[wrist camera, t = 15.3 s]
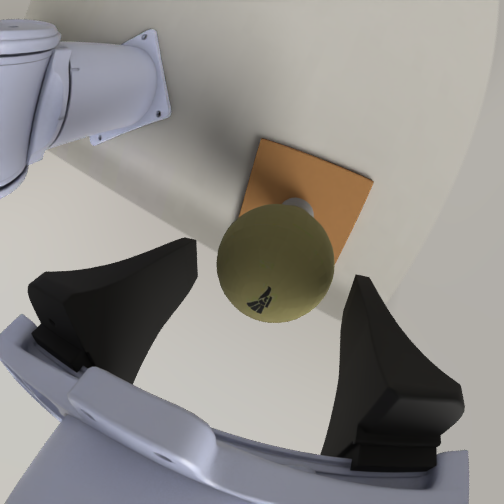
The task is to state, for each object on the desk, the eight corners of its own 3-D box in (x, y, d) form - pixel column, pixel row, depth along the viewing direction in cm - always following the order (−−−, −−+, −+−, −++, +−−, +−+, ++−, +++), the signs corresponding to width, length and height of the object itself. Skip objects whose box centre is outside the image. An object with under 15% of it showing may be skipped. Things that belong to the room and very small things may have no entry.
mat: (329, 273, 21) (328, 275, 21) (234, 235, 22) (233, 237, 22) (373, 180, 17) (373, 182, 17) (262, 137, 18) (260, 138, 18)
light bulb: (326, 255, 20) (307, 361, 12) (254, 235, 21) (194, 325, 13) (347, 184, 17) (350, 261, 9) (266, 164, 18) (197, 219, 10)
